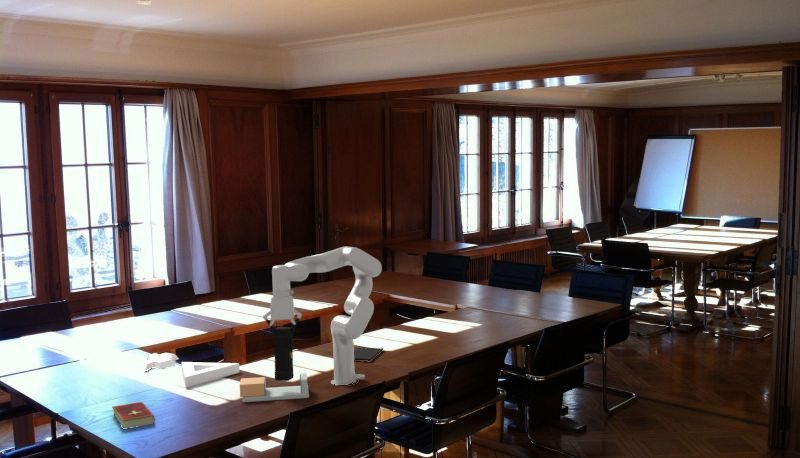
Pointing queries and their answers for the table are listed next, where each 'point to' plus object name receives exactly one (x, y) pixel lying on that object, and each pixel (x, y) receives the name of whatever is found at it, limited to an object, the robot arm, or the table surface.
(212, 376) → the triangle block
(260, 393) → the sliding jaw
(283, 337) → the portable radio
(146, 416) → the hardcover book
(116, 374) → the table surface
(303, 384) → the vise bed
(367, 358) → the external hard drive
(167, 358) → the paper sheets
